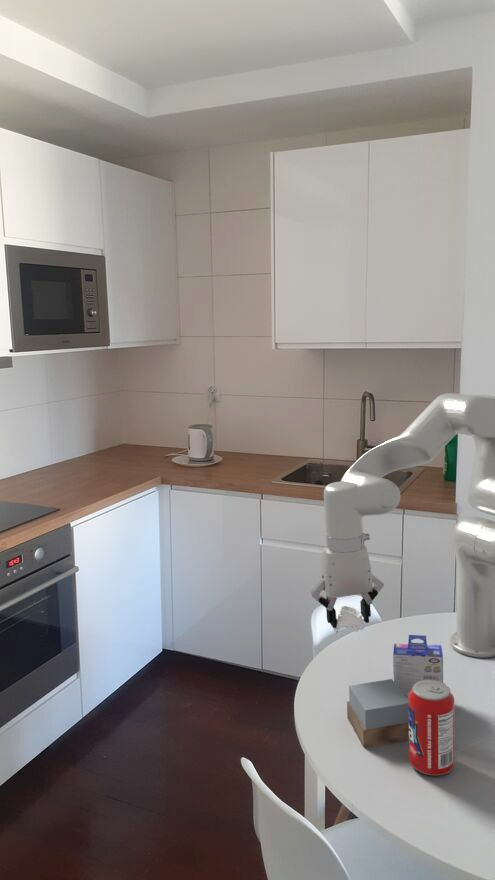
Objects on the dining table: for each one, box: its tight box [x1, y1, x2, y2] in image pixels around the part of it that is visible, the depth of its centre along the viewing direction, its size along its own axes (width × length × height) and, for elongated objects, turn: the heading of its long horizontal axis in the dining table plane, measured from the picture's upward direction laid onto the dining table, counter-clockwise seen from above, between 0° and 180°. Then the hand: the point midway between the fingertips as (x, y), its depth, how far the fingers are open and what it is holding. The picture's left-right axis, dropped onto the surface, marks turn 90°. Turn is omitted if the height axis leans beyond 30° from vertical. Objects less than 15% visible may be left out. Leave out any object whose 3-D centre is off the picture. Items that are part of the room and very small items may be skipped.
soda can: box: [408, 679, 455, 776], centre depth 124 cm, size 8×8×15 cm
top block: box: [348, 678, 409, 730], centre depth 135 cm, size 9×9×4 cm
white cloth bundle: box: [332, 605, 365, 634], centre depth 147 cm, size 8×7×5 cm
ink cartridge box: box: [392, 634, 444, 699], centre depth 143 cm, size 10×6×14 cm, turn 78°
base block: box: [346, 701, 409, 749], centre depth 136 cm, size 10×10×4 cm
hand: (349, 621), depth 147 cm, fingers closed on white cloth bundle, 6 cm apart
